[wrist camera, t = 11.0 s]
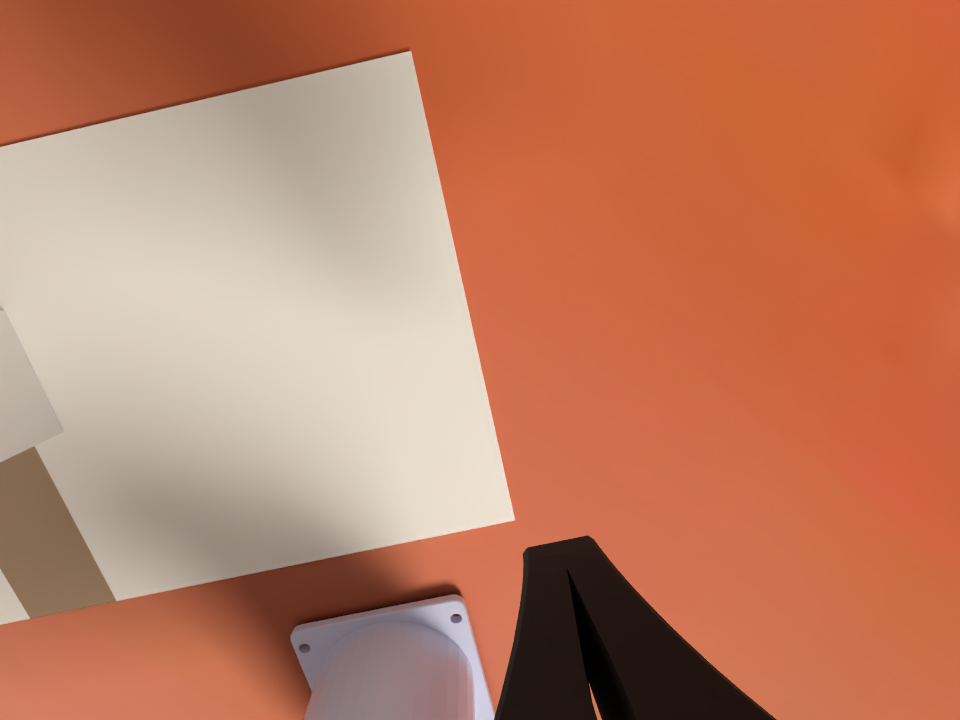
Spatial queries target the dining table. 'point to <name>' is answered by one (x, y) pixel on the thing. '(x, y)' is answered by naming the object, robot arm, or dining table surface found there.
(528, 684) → the robot arm
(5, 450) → the cream white cube
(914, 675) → the dining table surface
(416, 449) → the subfloor board
